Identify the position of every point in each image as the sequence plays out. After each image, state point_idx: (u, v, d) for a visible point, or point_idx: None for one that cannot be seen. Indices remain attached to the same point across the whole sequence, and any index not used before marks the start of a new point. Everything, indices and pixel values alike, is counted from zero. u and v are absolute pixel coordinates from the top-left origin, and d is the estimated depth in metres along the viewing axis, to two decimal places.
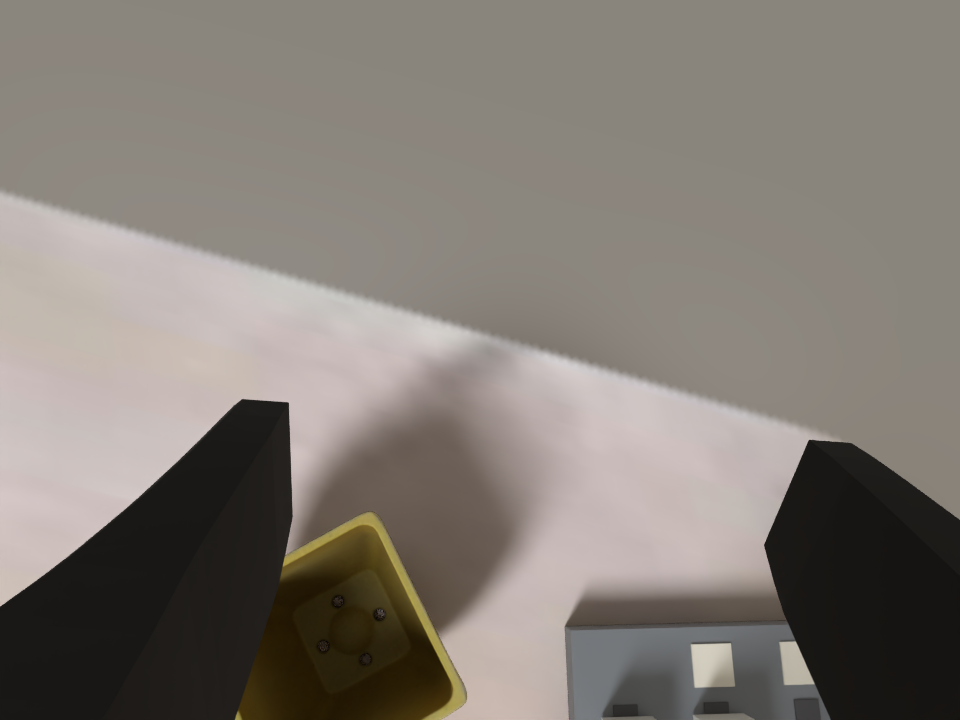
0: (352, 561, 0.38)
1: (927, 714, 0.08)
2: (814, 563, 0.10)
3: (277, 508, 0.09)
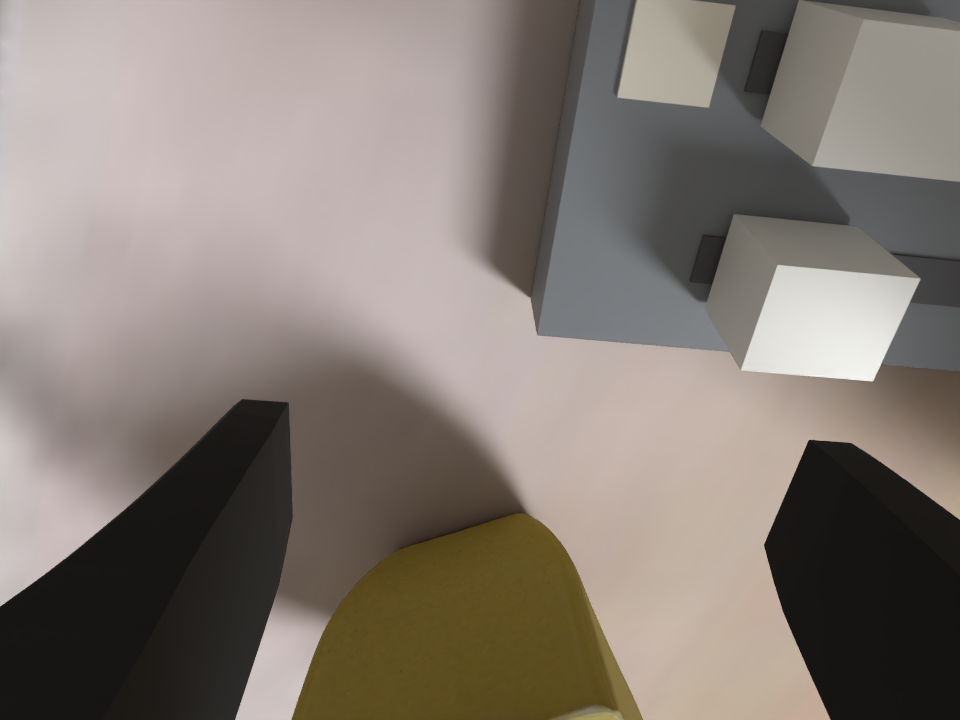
0: None
1: (927, 714, 0.08)
2: (814, 564, 0.10)
3: (277, 508, 0.09)
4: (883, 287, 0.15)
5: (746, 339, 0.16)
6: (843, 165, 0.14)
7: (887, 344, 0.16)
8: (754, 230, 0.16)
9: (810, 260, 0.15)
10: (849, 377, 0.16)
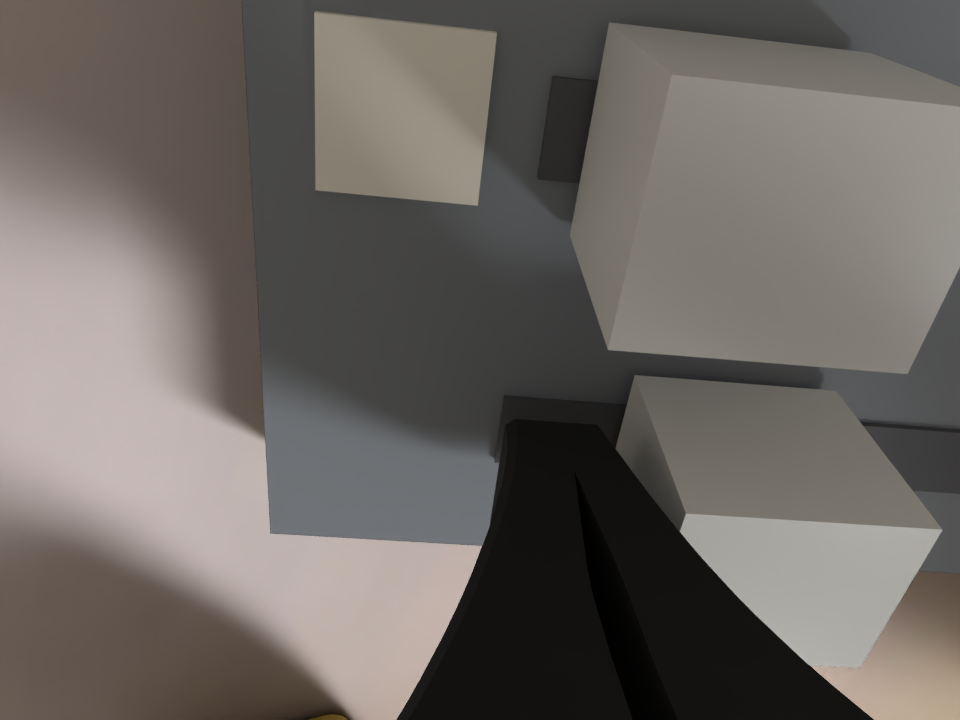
0: None
1: None
2: None
3: None
4: (876, 543, 0.09)
5: None
6: (669, 347, 0.07)
7: (884, 617, 0.09)
8: (662, 414, 0.10)
9: (747, 493, 0.09)
10: (820, 662, 0.10)
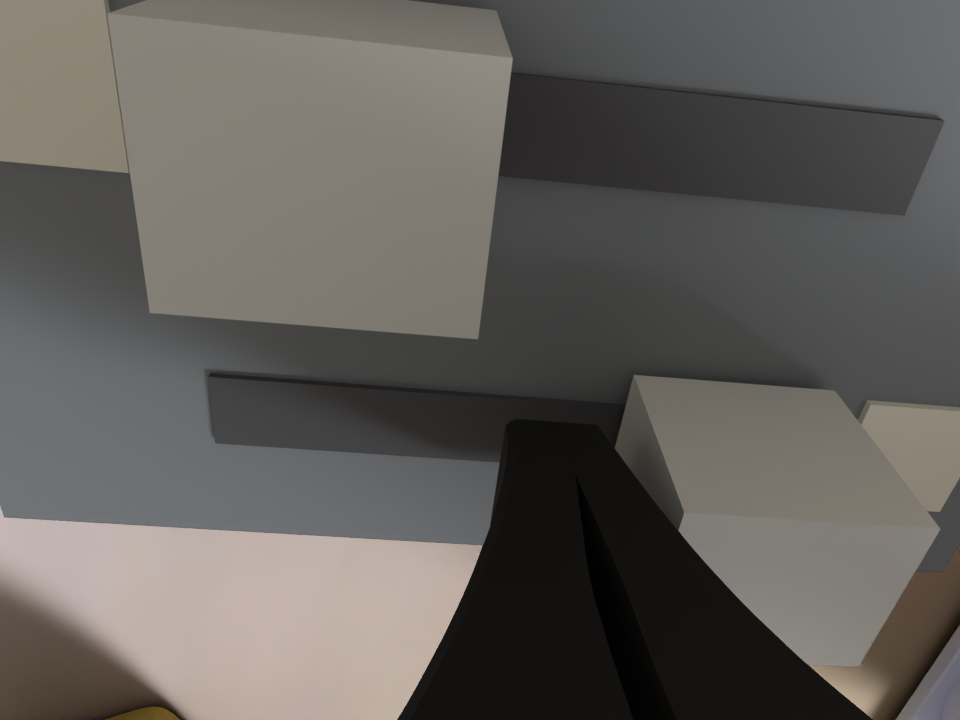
0: None
1: None
2: None
3: None
4: (874, 542, 0.09)
5: None
6: (217, 310, 0.07)
7: (883, 616, 0.09)
8: (660, 413, 0.10)
9: (745, 493, 0.09)
10: (819, 661, 0.10)
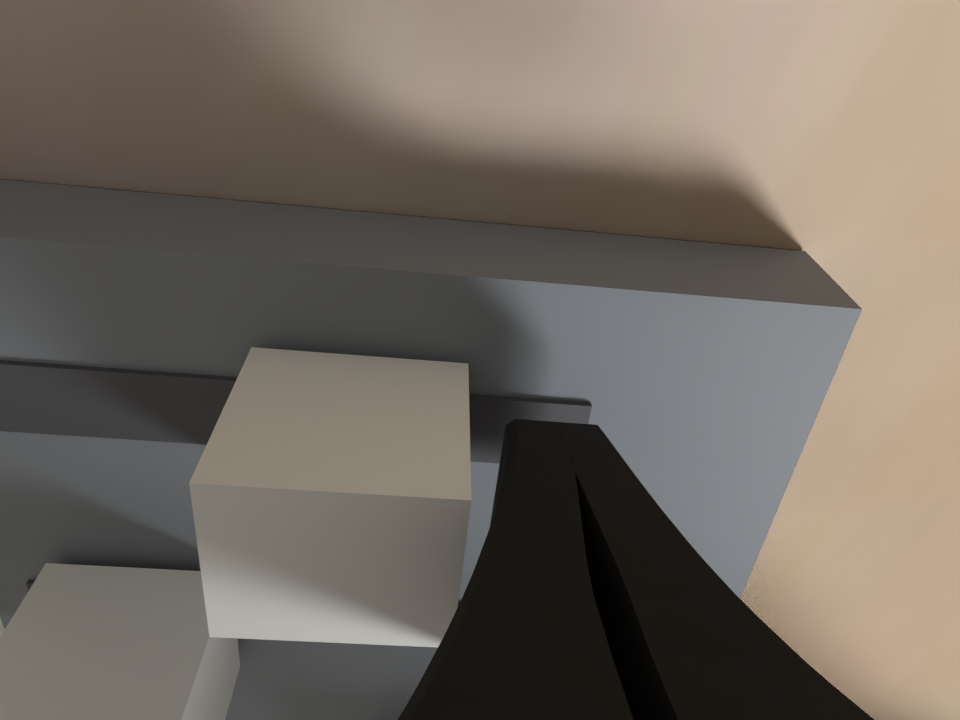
0: None
1: None
2: None
3: None
4: None
5: None
6: None
7: None
8: None
9: None
10: None
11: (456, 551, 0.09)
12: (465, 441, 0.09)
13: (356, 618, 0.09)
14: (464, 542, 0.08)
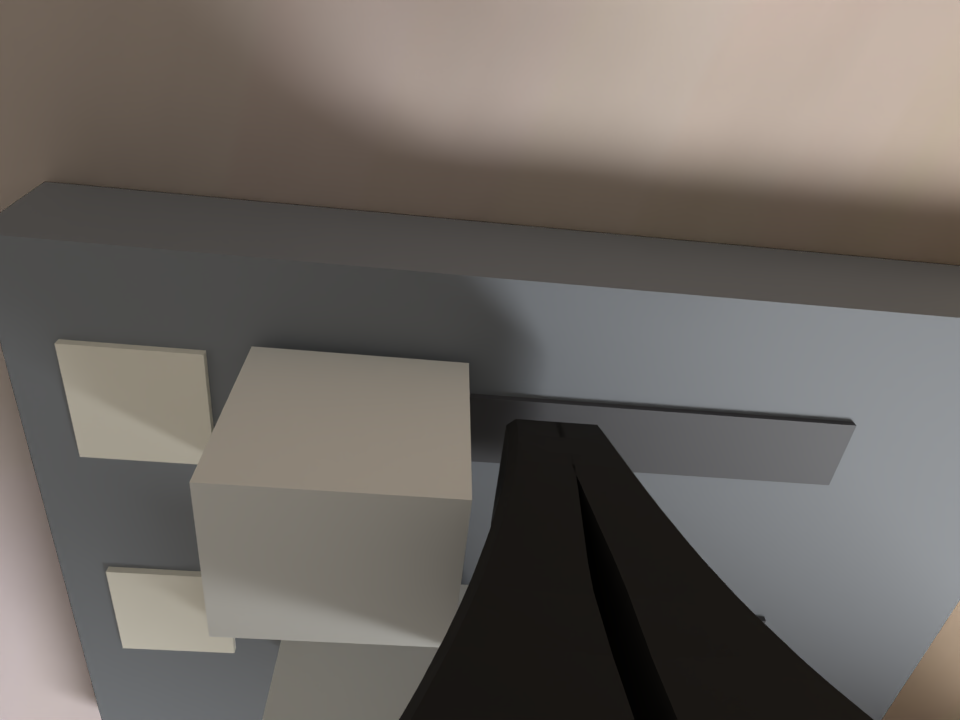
0: None
1: None
2: None
3: None
4: None
5: None
6: None
7: None
8: None
9: None
10: None
11: (456, 551, 0.08)
12: (466, 441, 0.09)
13: (356, 618, 0.09)
14: (465, 542, 0.08)
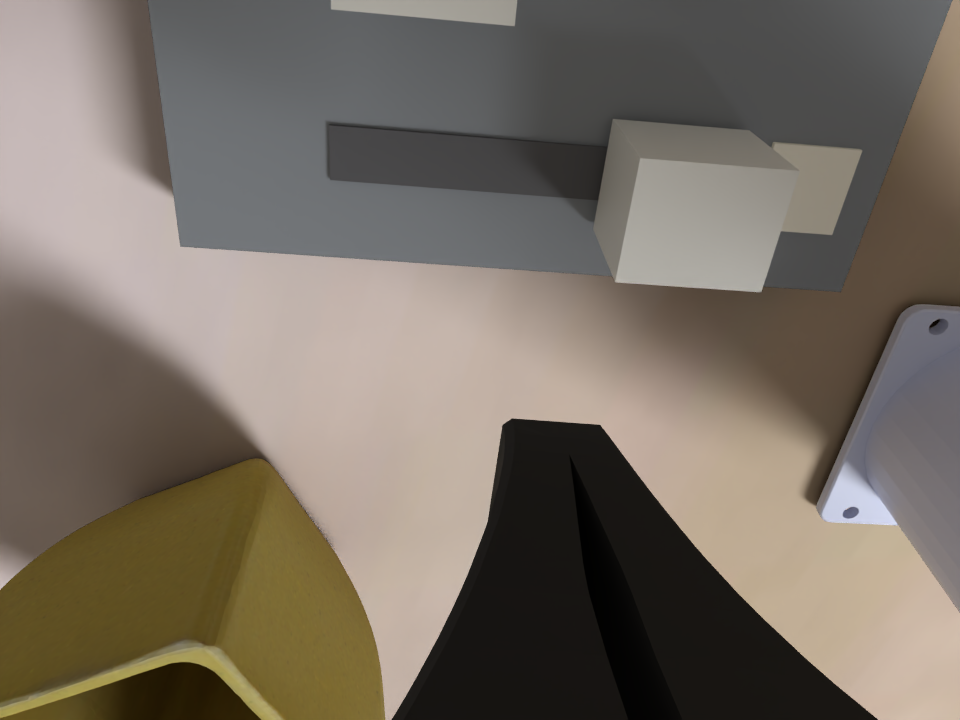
0: None
1: None
2: None
3: None
4: (759, 182, 0.14)
5: (619, 247, 0.15)
6: (368, 8, 0.12)
7: (773, 249, 0.15)
8: (629, 131, 0.15)
9: (679, 155, 0.14)
10: (735, 288, 0.15)
11: None
12: None
13: None
14: None
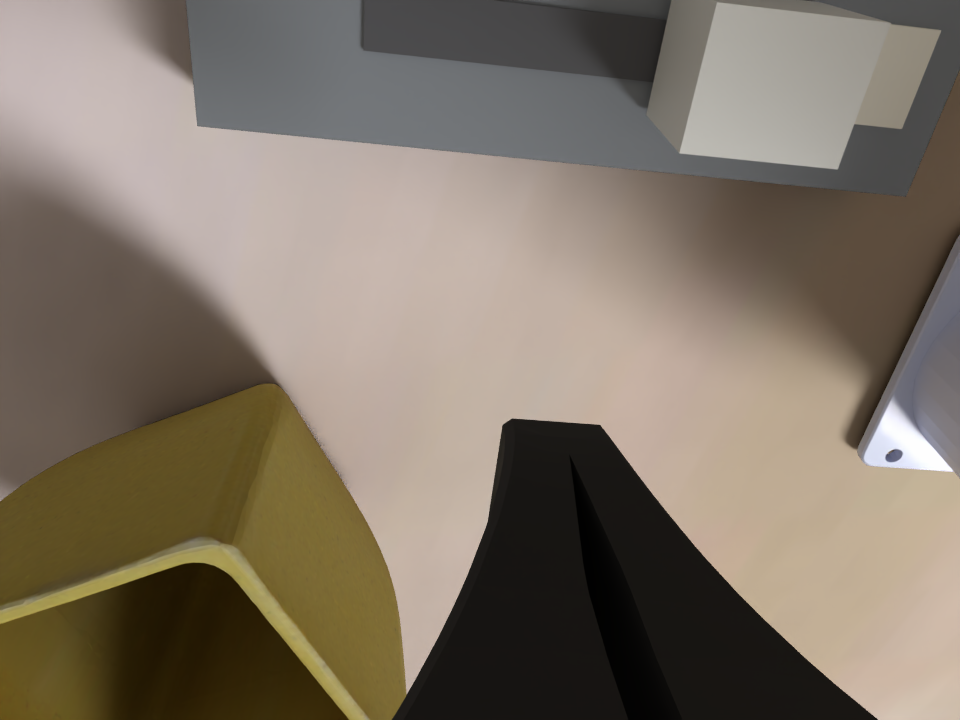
0: None
1: None
2: None
3: None
4: (846, 35, 0.12)
5: (685, 113, 0.13)
6: None
7: (854, 118, 0.13)
8: None
9: (758, 5, 0.13)
10: (809, 164, 0.14)
11: None
12: None
13: None
14: None
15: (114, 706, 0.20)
